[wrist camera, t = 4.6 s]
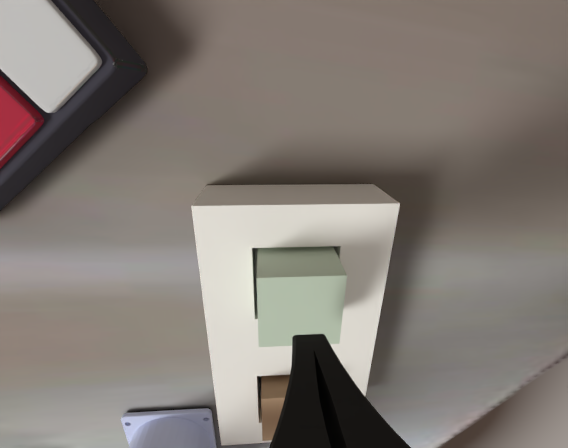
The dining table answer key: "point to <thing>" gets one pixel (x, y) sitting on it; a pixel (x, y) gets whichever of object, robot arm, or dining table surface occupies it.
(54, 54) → the calculator
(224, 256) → the key panel
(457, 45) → the dining table surface
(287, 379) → the walnut key
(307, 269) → the sage key
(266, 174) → the dining table surface
